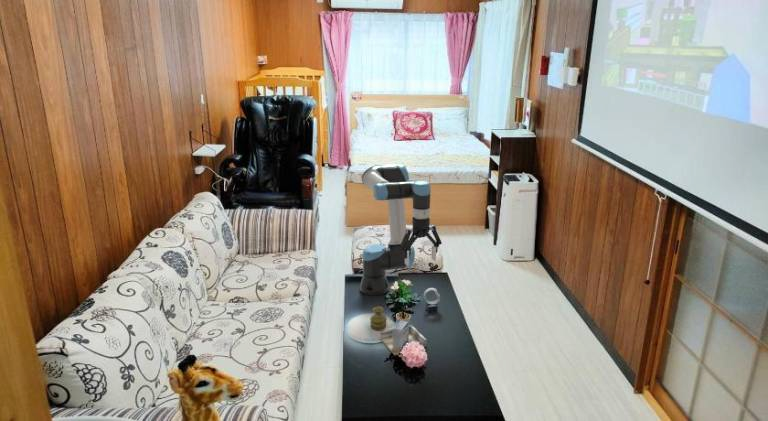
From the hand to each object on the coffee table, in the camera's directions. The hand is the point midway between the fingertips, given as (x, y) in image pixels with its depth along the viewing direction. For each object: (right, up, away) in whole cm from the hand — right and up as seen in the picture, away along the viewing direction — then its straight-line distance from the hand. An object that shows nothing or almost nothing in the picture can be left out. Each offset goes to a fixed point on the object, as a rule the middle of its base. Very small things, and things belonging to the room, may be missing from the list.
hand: (420, 262), depth 235 cm
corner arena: (-8, -33, -11) cm, 36 cm away
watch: (+7, -25, +18) cm, 31 cm away
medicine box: (-9, -33, -12) cm, 37 cm away
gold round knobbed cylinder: (-19, -30, +2) cm, 35 cm away
